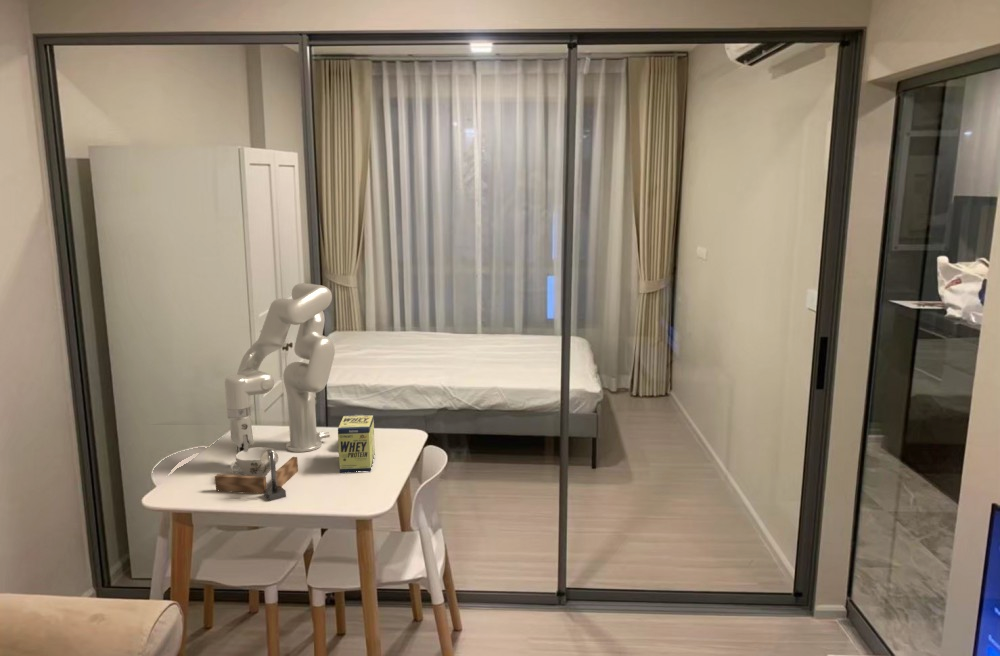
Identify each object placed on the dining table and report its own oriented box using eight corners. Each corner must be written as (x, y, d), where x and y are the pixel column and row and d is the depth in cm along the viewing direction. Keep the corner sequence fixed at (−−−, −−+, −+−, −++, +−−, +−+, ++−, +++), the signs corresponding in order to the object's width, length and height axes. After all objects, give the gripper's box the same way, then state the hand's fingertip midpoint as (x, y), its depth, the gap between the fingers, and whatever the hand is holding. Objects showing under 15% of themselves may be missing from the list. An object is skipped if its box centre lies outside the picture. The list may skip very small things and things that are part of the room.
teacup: (267, 465, 244) (266, 443, 242) (284, 476, 234) (282, 453, 233) (223, 477, 234) (221, 454, 232) (239, 488, 225) (237, 464, 223)
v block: (296, 470, 239) (296, 456, 238) (311, 481, 230) (310, 467, 229) (215, 490, 224) (213, 475, 223) (227, 503, 214) (225, 487, 213)
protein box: (339, 473, 236) (337, 428, 233) (345, 456, 252) (343, 414, 249) (371, 472, 237) (369, 427, 234) (375, 455, 252) (373, 413, 250)
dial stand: (279, 490, 223) (276, 447, 220) (286, 496, 218) (283, 453, 216) (262, 494, 220) (259, 451, 217) (269, 501, 215) (266, 457, 213)
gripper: (257, 415, 235) (261, 467, 239) (243, 404, 247) (247, 455, 250) (234, 419, 231) (238, 473, 234) (221, 408, 243) (225, 459, 246)
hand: (242, 463), depth 242 cm, fingers closed
